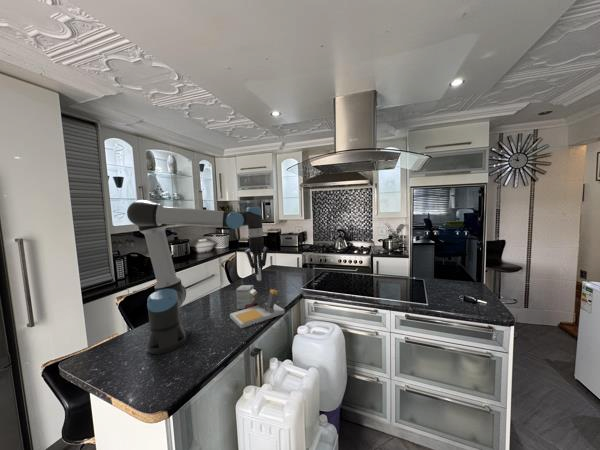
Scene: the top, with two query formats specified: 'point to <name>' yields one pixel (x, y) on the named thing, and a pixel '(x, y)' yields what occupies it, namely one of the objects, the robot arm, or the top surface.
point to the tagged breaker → (271, 299)
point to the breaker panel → (255, 315)
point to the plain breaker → (256, 297)
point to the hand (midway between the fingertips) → (259, 279)
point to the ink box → (244, 297)
